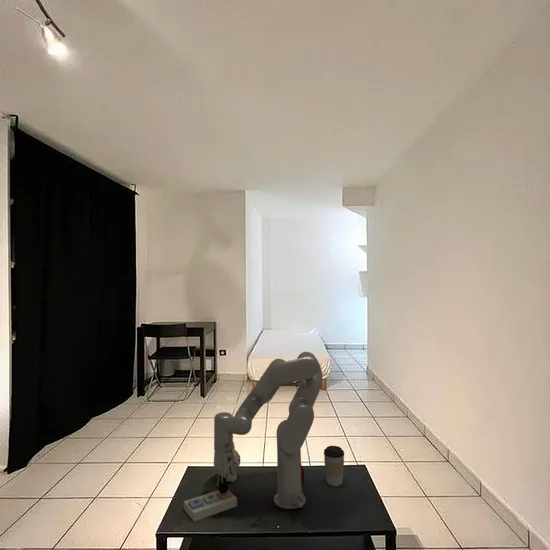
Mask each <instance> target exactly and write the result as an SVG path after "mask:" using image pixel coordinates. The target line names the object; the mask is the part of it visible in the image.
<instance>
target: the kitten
mask: <svg viewBox="0 0 550 550" xmlns="http://www.w3.org/2000/svg"><path fill="white" fill-rule="evenodd" d="M232 450H233V454H234V466H235V474H234V475H231V474H230V476H231V481H228V483H229V482H231V483H234V482H235V481H237V477H238V476H237V473H236V471H237V470H238V468H240V465H241V455H240V454H239V452H238V451H237V450H236V447H235V442H234V441H233V449H232ZM219 482H220V481H219V480H218V478H217V479H216V487H217V488H219Z"/></svg>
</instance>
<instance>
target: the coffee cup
mask: <svg viewBox="0 0 550 550" xmlns="http://www.w3.org/2000/svg"><path fill="white" fill-rule="evenodd" d="M323 457H324V459H323V461H324V472H325V478H326V483H328V484H327V485H329V486H331V485H332V487H340V486H342V485H343V480H344V476H343V475H344V470H345V469H344V467H345V451H344V450H343V448H342V447H340V446H339V445H329V446H326V448H324V449H323ZM341 484H342V485H341ZM339 485H340V486H339Z"/></svg>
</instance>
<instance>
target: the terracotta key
mask: <svg viewBox="0 0 550 550" xmlns="http://www.w3.org/2000/svg"><path fill="white" fill-rule="evenodd" d="M217 491H218V490H217ZM232 494H233V493H232V492H231V491H230V490H229V489H228V491H227V492H224V493H220V492H219V491H218V492H217V496H218V497H219V498H220V499H221V500H223V499H226V498H229V497H232Z"/></svg>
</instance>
